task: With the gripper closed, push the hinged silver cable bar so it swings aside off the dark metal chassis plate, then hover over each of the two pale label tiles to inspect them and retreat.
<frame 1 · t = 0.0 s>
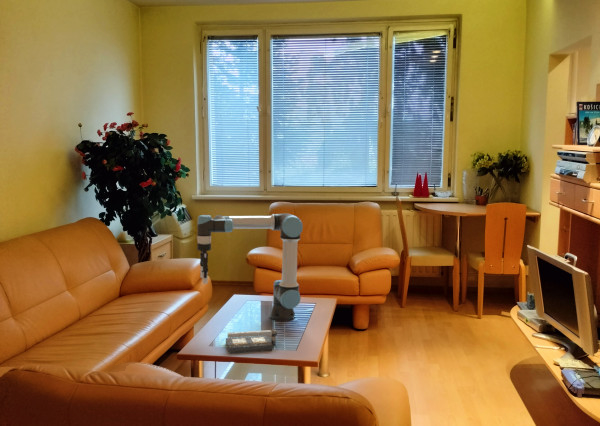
hand: (203, 280, 300), 28 cm above the table, fingers open, 13 cm apart
cable arm: (252, 333, 277), point 7 cm above the table, hinge at 0.0°
chassis: (248, 347, 277), on the table
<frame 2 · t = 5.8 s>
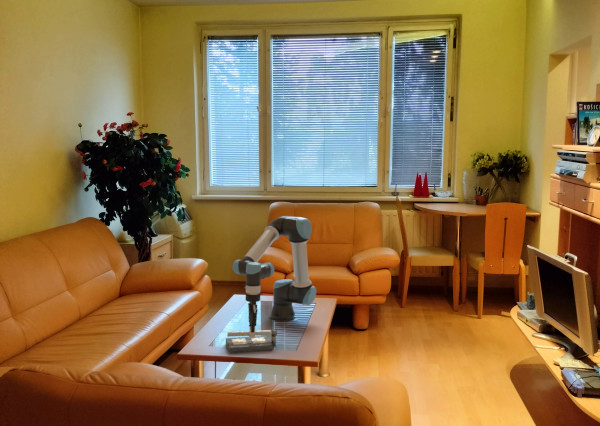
hand: (252, 337, 276), 5 cm above the table, fingers closed
cable arm: (252, 333, 278), point 7 cm above the table, hinge at 4.9°, touching gripper
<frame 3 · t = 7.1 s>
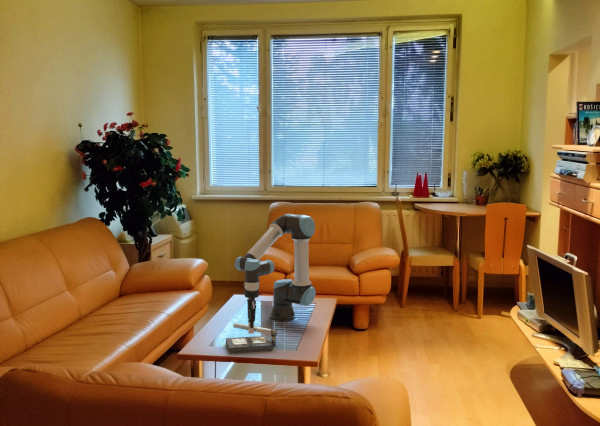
hand: (251, 333, 282), 5 cm above the table, fingers closed
cable arm: (255, 328, 284), point 7 cm above the table, hinge at 39.9°, touching gripper
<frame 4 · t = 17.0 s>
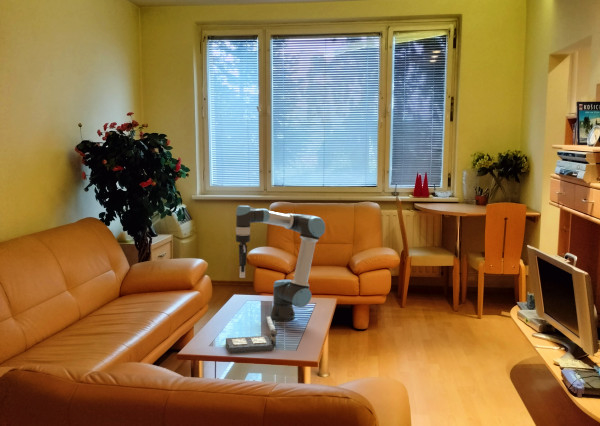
hand: (242, 277, 291), 32 cm above the table, fingers closed
cable arm: (271, 325, 291), point 7 cm above the table, hinge at 95.4°
at the end: cable arm at +95° (first picture: +0°) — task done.
